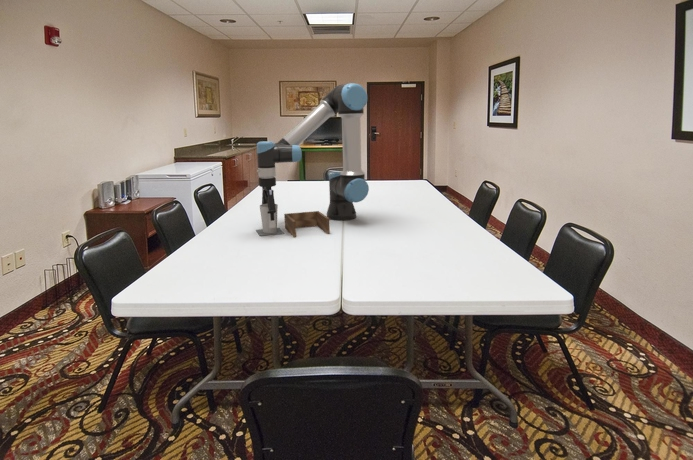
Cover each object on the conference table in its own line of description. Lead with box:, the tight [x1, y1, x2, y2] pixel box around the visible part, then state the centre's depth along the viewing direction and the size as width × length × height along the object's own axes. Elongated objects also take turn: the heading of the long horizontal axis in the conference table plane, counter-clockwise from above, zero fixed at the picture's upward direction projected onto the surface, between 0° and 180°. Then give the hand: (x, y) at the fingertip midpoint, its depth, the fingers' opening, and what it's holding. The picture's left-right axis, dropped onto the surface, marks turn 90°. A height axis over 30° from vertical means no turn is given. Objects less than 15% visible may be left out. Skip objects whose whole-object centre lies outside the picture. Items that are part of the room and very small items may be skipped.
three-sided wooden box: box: [283, 210, 331, 238], centre depth 215 cm, size 16×17×7 cm
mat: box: [255, 227, 285, 237], centre depth 215 cm, size 11×11×1 cm
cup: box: [259, 203, 279, 233], centre depth 213 cm, size 8×8×12 cm
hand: (269, 224), depth 214 cm, fingers open, 13 cm apart
